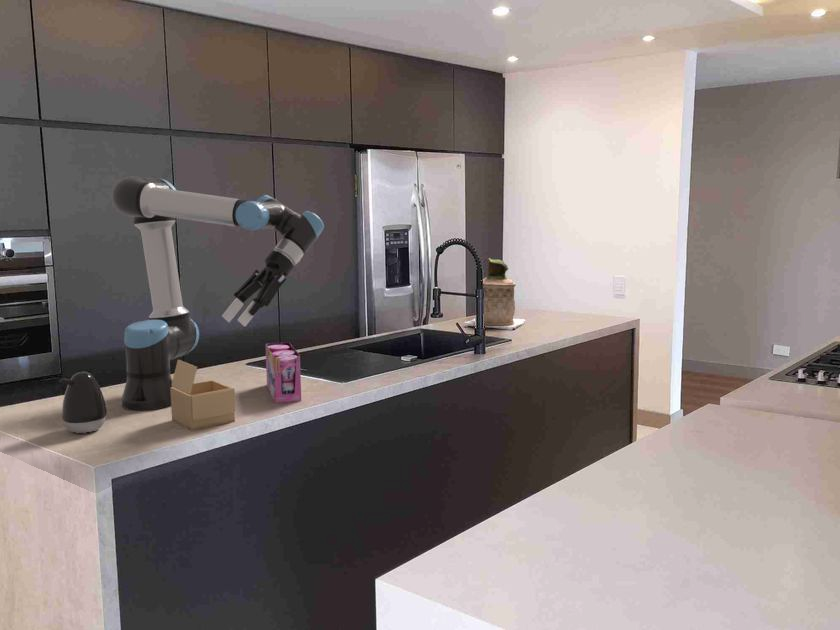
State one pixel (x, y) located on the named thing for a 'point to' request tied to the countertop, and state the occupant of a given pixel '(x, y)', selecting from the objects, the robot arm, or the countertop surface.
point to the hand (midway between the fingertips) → (233, 321)
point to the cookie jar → (498, 298)
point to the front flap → (184, 376)
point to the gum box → (283, 372)
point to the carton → (203, 405)
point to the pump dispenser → (83, 404)
